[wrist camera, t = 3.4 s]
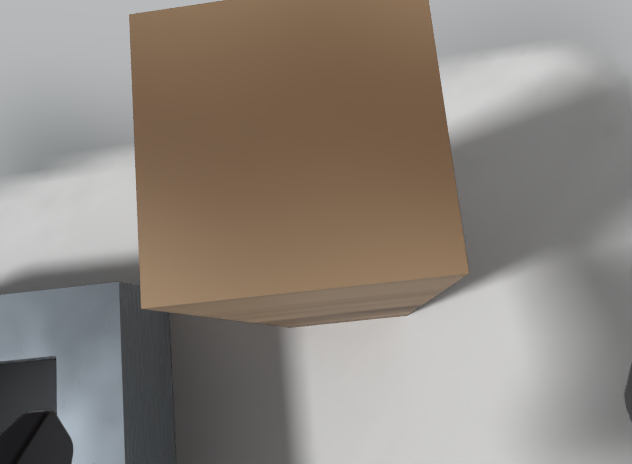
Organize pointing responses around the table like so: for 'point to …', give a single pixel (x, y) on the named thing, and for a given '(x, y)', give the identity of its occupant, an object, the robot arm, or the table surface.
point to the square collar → (99, 367)
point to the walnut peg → (292, 161)
